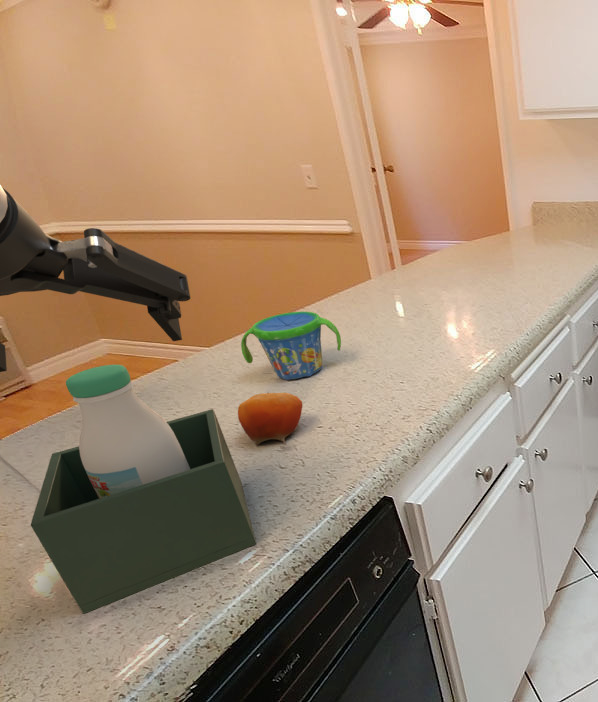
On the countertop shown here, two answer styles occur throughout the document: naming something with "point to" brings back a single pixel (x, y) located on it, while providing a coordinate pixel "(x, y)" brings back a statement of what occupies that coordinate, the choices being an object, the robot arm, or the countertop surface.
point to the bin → (143, 519)
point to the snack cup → (291, 343)
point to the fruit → (270, 416)
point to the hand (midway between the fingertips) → (93, 343)
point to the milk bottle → (121, 433)
